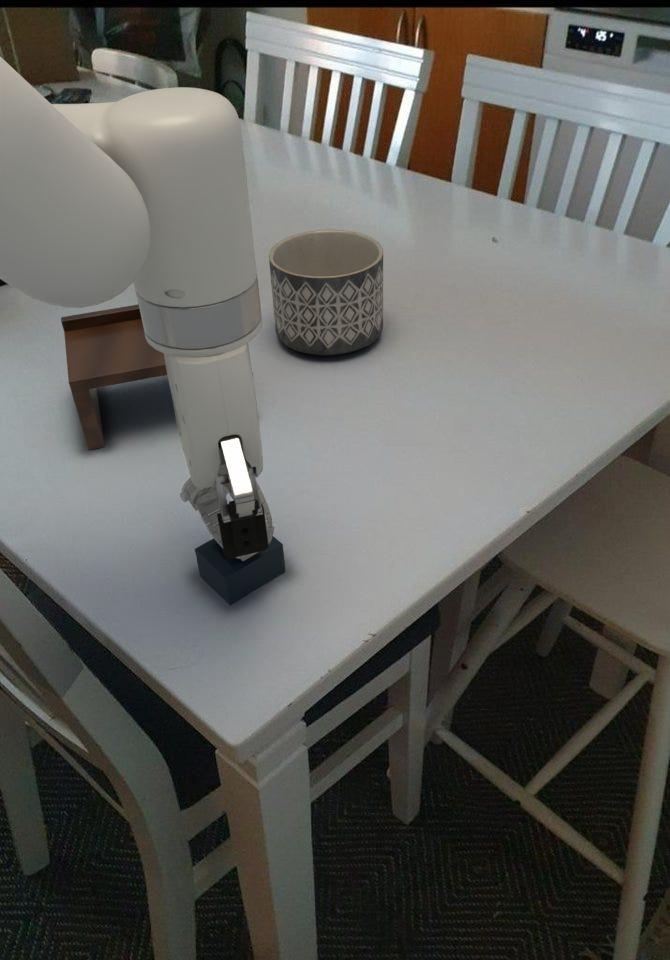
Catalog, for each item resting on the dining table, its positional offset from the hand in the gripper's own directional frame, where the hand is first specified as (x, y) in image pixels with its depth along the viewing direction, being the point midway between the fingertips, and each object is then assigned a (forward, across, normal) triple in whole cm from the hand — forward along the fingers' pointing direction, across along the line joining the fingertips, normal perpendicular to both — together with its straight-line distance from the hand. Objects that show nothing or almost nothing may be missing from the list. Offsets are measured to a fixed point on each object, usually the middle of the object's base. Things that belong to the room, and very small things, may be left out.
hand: (233, 509), depth 62 cm
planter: (+7, -35, +18) cm, 40 cm away
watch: (+7, 0, 0) cm, 7 cm away
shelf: (+7, -27, -3) cm, 28 cm away
